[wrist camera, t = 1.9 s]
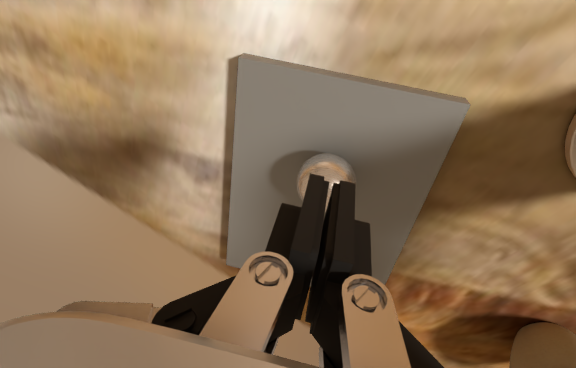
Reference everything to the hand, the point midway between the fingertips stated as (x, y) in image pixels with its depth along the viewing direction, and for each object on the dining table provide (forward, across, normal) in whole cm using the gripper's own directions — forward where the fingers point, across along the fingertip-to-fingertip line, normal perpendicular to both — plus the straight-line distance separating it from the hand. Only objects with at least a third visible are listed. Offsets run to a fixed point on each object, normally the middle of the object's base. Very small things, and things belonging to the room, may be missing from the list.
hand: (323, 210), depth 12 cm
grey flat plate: (+18, 0, +12) cm, 21 cm away
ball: (+14, 0, +8) cm, 16 cm away
